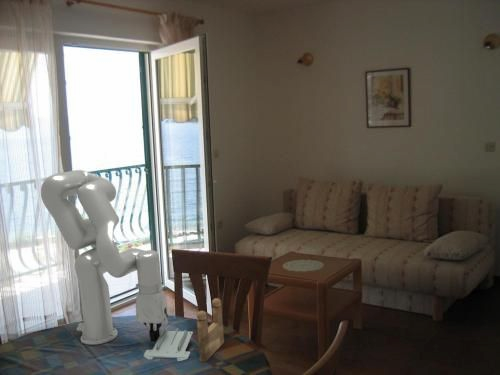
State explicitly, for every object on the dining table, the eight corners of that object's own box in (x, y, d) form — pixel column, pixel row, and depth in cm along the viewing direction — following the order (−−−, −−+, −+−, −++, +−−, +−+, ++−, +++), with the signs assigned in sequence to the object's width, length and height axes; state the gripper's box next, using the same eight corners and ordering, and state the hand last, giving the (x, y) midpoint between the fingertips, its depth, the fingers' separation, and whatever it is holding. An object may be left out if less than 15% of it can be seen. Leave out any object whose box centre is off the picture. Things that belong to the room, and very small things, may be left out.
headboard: (198, 360, 157) (195, 312, 155) (217, 341, 170) (214, 296, 168) (207, 362, 156) (203, 313, 154) (225, 342, 169) (222, 297, 167)
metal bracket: (156, 324, 172) (198, 325, 169) (159, 338, 175) (201, 339, 171) (140, 354, 160) (185, 356, 156) (144, 368, 162) (188, 370, 159)
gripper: (124, 290, 167) (129, 342, 169) (164, 293, 161) (168, 347, 164) (137, 283, 174) (142, 333, 176) (175, 285, 168) (180, 337, 171)
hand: (155, 340), depth 170 cm, fingers closed
